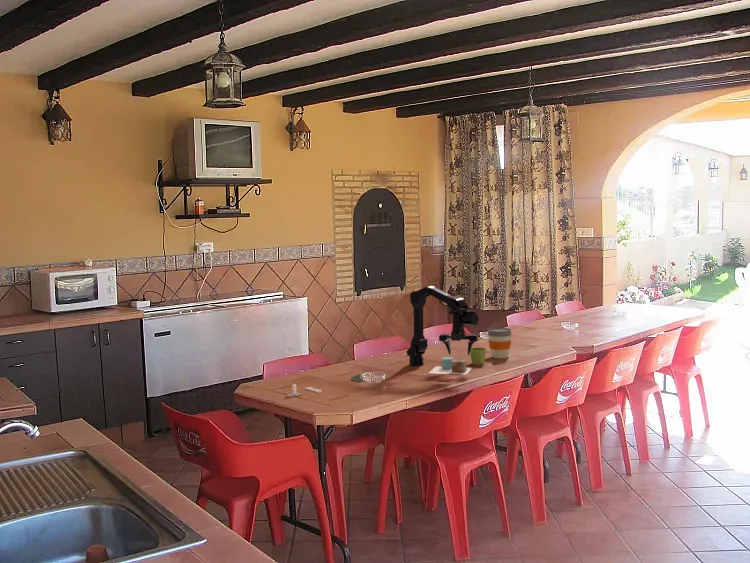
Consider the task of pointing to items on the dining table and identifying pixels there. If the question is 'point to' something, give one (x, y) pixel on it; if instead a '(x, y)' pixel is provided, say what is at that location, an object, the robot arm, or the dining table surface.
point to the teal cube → (447, 362)
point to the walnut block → (458, 365)
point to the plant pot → (478, 355)
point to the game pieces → (356, 378)
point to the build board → (448, 371)
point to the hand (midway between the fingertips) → (459, 354)
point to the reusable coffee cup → (499, 342)
